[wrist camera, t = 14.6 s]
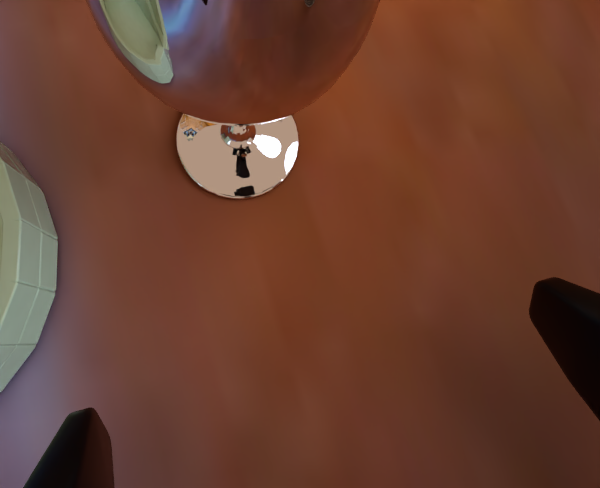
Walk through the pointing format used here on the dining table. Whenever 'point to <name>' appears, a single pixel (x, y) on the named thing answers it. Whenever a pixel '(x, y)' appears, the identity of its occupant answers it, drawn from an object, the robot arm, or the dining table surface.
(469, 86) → the dining table surface
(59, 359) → the dining table surface
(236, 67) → the wineglass
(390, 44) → the dining table surface
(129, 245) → the dining table surface
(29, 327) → the dish
